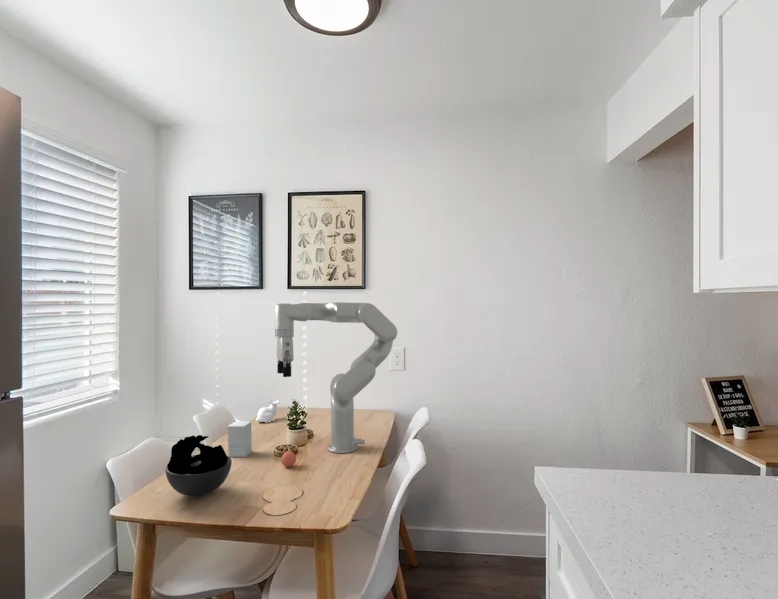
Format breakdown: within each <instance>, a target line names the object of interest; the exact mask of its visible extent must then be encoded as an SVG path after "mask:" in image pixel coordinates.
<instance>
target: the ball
mask: <svg viewBox="0 0 778 599" xmlns="http://www.w3.org/2000/svg"><path fill="white" fill-rule="evenodd" d="M280 461H281V464H282V466H284V467H285V468H291V467H293V466H294V465H295V464H296V462H297V456H296V454H295V453H294V452H293V451H286V452H284V453H283V454H282V456H281V459H280Z"/></svg>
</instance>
